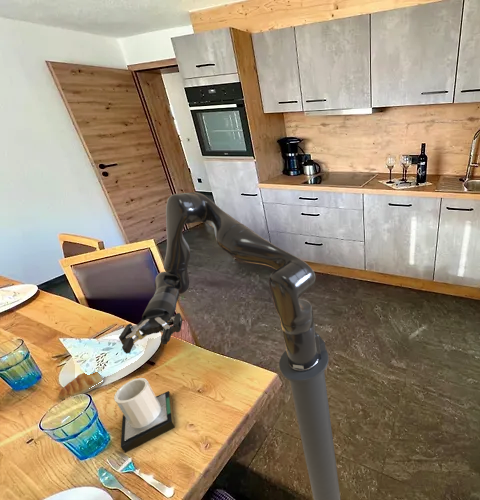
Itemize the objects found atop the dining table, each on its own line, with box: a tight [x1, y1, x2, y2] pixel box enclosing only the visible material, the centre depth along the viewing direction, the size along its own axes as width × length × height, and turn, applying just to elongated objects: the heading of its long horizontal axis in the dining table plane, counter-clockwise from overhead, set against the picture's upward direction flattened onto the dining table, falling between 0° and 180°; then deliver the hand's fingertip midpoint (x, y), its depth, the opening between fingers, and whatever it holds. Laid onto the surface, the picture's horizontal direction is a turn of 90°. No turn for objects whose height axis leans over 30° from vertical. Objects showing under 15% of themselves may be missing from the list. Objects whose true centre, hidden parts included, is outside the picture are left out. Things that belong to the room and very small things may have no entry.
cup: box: [113, 377, 161, 428], centre depth 67 cm, size 6×6×9 cm
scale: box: [120, 390, 176, 454], centre depth 70 cm, size 10×10×3 cm
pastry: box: [58, 372, 105, 400], centre depth 80 cm, size 9×7×4 cm
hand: (145, 346), depth 75 cm, fingers open, 8 cm apart
